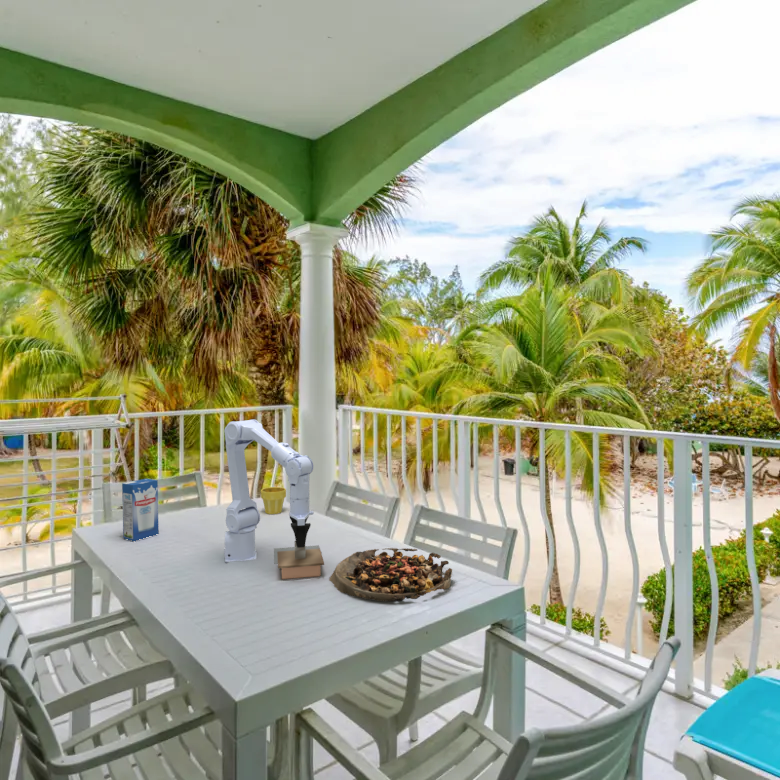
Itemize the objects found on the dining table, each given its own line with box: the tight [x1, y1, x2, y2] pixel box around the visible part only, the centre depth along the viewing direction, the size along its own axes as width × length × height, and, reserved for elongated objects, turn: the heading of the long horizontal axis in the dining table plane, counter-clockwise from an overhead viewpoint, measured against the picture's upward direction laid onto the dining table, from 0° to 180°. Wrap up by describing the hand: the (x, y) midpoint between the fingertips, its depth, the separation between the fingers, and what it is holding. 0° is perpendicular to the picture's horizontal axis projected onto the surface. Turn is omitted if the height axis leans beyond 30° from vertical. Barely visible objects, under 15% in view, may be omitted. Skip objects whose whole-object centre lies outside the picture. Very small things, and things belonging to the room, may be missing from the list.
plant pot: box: [260, 486, 287, 515], centre depth 233 cm, size 10×10×10 cm
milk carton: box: [121, 478, 160, 542], centre depth 200 cm, size 10×6×20 cm, turn 148°
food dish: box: [328, 547, 453, 602], centre depth 159 cm, size 35×33×8 cm
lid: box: [277, 540, 325, 569], centre depth 165 cm, size 13×13×5 cm
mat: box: [273, 544, 321, 565], centre depth 179 cm, size 15×15×1 cm
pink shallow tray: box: [280, 565, 322, 582], centre depth 165 cm, size 11×11×4 cm
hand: (299, 543), depth 165 cm, fingers open, 7 cm apart
